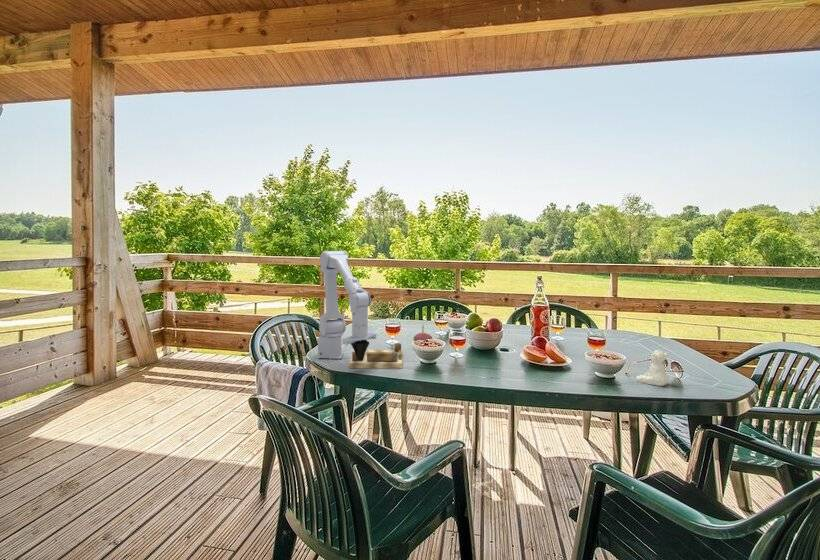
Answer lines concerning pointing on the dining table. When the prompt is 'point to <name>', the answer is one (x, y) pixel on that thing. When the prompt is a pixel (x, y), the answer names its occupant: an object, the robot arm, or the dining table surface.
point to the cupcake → (422, 335)
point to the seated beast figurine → (655, 370)
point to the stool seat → (378, 364)
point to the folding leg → (382, 356)
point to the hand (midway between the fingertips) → (360, 360)
